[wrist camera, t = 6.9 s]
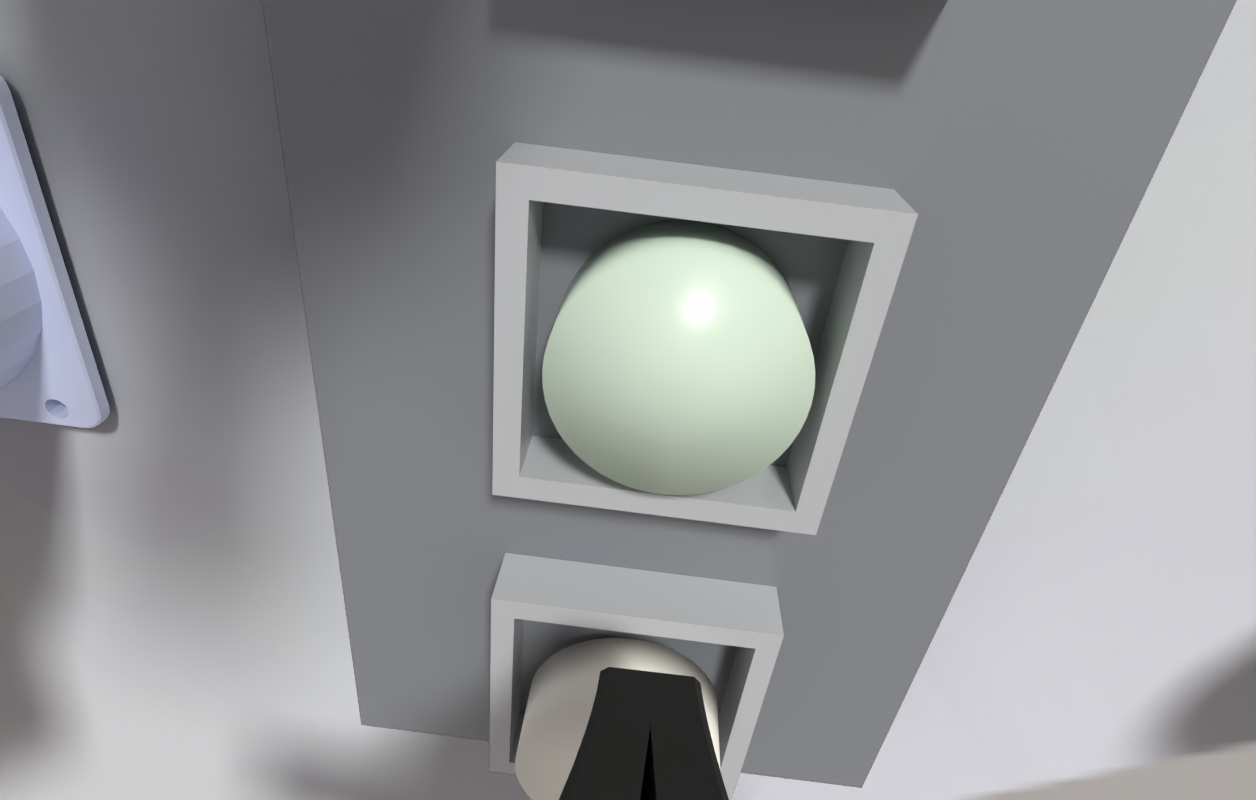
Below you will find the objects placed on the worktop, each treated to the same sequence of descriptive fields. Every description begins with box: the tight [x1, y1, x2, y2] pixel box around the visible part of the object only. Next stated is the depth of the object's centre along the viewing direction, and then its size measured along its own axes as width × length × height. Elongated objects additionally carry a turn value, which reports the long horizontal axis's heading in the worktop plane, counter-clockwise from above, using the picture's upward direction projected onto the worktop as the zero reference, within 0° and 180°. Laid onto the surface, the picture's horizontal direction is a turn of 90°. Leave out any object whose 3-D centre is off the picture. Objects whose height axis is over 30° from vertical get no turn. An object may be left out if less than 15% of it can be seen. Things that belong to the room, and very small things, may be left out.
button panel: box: [262, 0, 1237, 800], centre depth 14 cm, size 14×26×3 cm, turn 174°
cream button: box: [515, 638, 720, 800], centre depth 16 cm, size 4×4×2 cm
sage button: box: [542, 221, 815, 495], centre depth 12 cm, size 4×4×2 cm
